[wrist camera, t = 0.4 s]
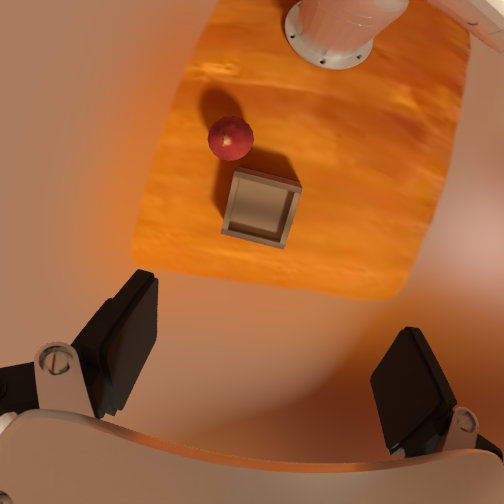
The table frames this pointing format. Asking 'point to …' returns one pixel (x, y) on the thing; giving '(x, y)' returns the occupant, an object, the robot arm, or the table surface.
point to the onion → (230, 138)
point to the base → (261, 207)
